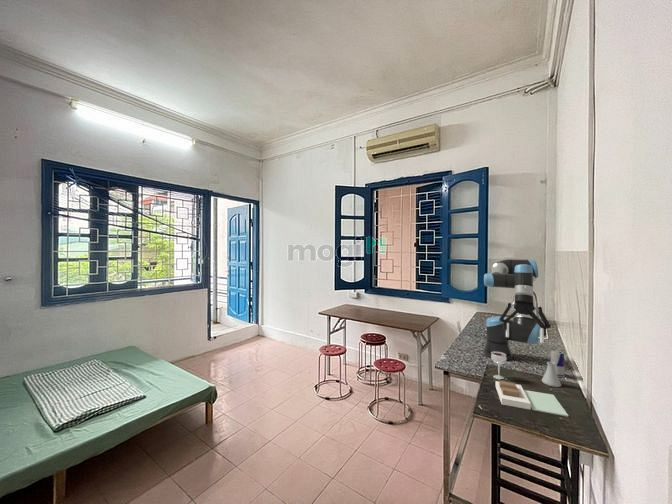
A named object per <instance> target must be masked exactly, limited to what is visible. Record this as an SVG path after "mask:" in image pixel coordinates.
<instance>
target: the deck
mask: <svg viewBox="0 0 672 504" xmlns="http://www.w3.org/2000/svg"><path fill="white" fill-rule="evenodd" d="M515 385H516V387H517V389H518V391H519V393H520V398H519V397H513V396H508V395H503V394H502V391H501V388H500V386H499V380H498V381H497V380H495V388H496V392H497V395H498V398H499V400H500V401H499V402H500V403H501V405H502V406H507V407H514V408H520V409H524V410H532V409H531V403H530V401H529V399H528V398H527V396H526V394H525V392H524V390H525V389H524V388H523V387H522V385H521V384H516V383H515Z"/></svg>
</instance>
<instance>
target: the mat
mask: <svg viewBox="0 0 672 504" xmlns="http://www.w3.org/2000/svg"><path fill="white" fill-rule="evenodd" d="M523 390H524V392H525V394H526V396H527V398H528V399H529V401H530V403H531V410H532V411H535V412H541V413H547V414H551V415H558V416H563V417H568V418H569V414H568V413H567V411H566V409H565V408H564V407H563V406H562V404H561V403H560V402H559V401H558V399H557V398H556V396H555V394H551V393H545V392H540V391H534V390H533V391H532V390H527V389H523Z"/></svg>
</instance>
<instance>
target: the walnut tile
mask: <svg viewBox="0 0 672 504" xmlns="http://www.w3.org/2000/svg"><path fill="white" fill-rule="evenodd" d="M498 382H499V386H500V388H501V391H502V394H503V395H508V396H513V397H519V398H520V393H519V391H518V389H517V387H516V385H515V384H516V383H515V382H510V381H505V380H498Z"/></svg>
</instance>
